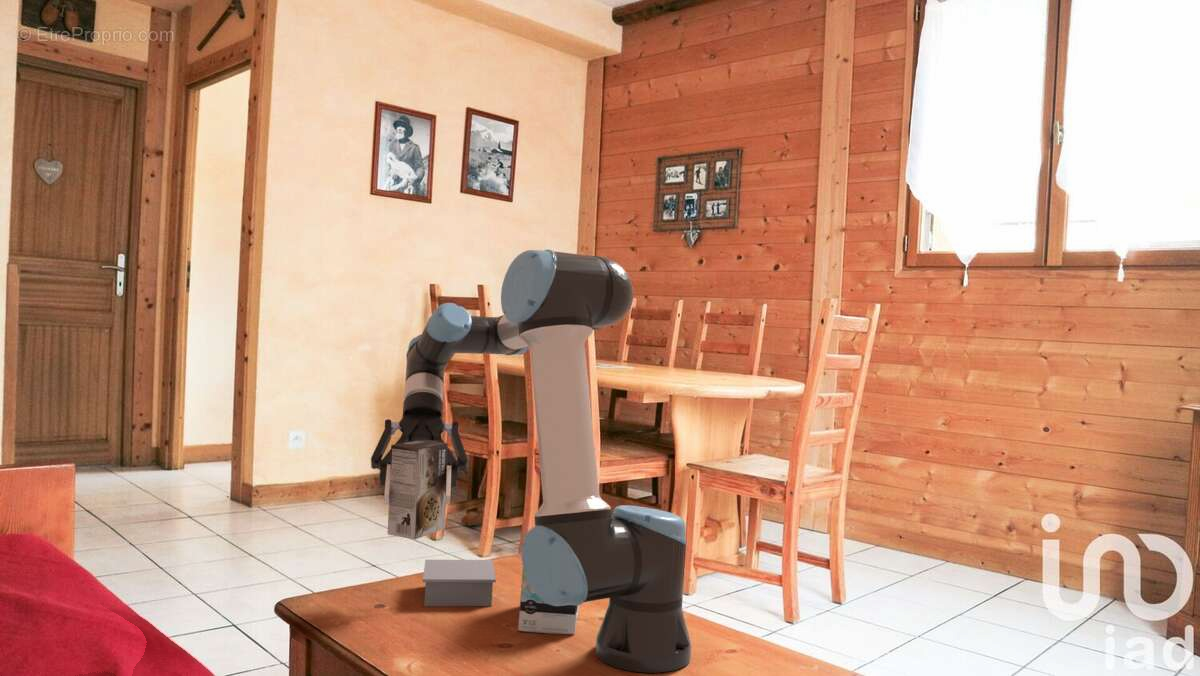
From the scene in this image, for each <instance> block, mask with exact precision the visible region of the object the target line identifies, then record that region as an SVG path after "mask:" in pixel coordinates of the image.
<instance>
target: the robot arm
mask: <svg viewBox="0 0 1200 676" xmlns="http://www.w3.org/2000/svg"><path fill="white" fill-rule="evenodd" d="M500 291H501V292H500V306H501V310H502V313H503V315H500V316H481V315H480V316H479V315H470V313H469V311H468V310H467V309H466V308H465V307H463V306H461V305H457V304H456V303H454V302H446V303H445V302H444V303H442V304H440V305H438V306H437V308H436V309H435V310H434V311H433V313H432V314H431V316H430V317H428V320H427V321H426V325H425V327H424V329H423V331H422V333H421V334H419V335H417V336H415V337H413V338H412V339H411V340H410V342H409V344H408V347H407V351H406V359H405V360H406V364H405V365H406V366H405V367H406V368H405V380H404V381H405V383H404V390H403V391H404V392H403V404H402V405H403V406H402V417H401V419H400V421H392V420H391V419H388V418H387V419H385V420H384V430H383V432H382V435H381V436H380V437H379V440H378V442H377V444H376V447H375V449H374V451H373V453H372V455H371V457H370V467H371V469H373V470H376V469H377V470H379V479H378V480H379V485H380V486H384V495H383V496H384V497H383V498H384V499H383V500H384V505H389V492H390V463H391V448H390V449H389V451H388V452H387V453H386V450H387V448H388V445H389V444H390V441H391V439H392V436H394V435H395V434H396V432H397V431H398V430H399V431H400V432H401V434H400V435H401V436H400V438H399V439H398V440H397V441H396V442H395V443H394V444H399V443H404V442H410V441H415V440H420V439H423V440H432V441H437V442H442V443H445V441H444V440H443V438H442V435H441V434H442V433H443V432H444V431H445V432H446V434H447V435H448V436H449V437H450V440H451V443H452V447H453V450H454V452H455V455H456V457H455V456H454V455H453V453H452V452H451V450H450V449H449V447H447V478H446V505H451V492H452V487H453V488H454V487H457V485H458V474H459V472H460V471H462V472H465V471H467V469H468V462H469V461H468V456H467V454H466V451H465V448H464V445H463V442H462V440H461V439H462V438H461V436H460V434H459V424H460V423H459V422H458V421H456V420H455V421H453V422H451V423H445V422H444V419H443V408H444V403H443V402H444V389H445V388H444V384H445V370H446V368H447V366H448V365H449V363H450V362H451V361H452V359H453V357H454V356H455V355H456V354H474V355H475V354H479V355H480V354H483V355H487V354H488V355H504V356H516V355H523V354H525V353H526V352H527V351H528V349H529V352H530V353H529V354H530V365H531V375H532V376H531V378H532V389H533V399H534V407H535V408H534V409H535V410H534V411H535V420H536V421H535V423H536V433H537V442H538V444H537V445H538V455H539V456H538V458H539V465H540V466H539V468H540V480H541V492H542V504H541V505H540V507H539V508H538V509H537V510H536V512H535V513H534V517H533V518H534V526H532V527H533V528H532V527H531V528H532V529H529V530H528V531H527V532H526V534H525V535H524V537H523V543H522V545H521V562H522V569H523V568H524V572H525V575H526V578H527V580H528V583H529V585H530V586H531V588H532V590H534V592H535V593H536V595H537V596H538V597H539V598H540V599H541V600H542V601H544V602H545V603H547V604H549V605H552V606H564V605H579V606H580V605H583V603H588V602H594V601H598V600H605V599H609V601H608V605H607V608H606V611H605V613H604V617H603V619H602V621H601V624H600V626H599V627H600V628H599V630H598V633H597V635H596V639H595V654H596V657H597V658H599V660H601V662H604V663H605V664H606V665H607V664H608V665H610V666H611V667H614V668H617V669H620V670H625V671H629V672H637V673H645V674H646V673H650V674H651V673H666V672H672V671H677V670H679V669H682V668H683V667H685V666H687V665H688V664H689V663H690V662H691V656H692V655H691V654H692V643H691V638H690V634H689V630H688V627H687V623H686V619H685V614H684V611H683V599H684V598H683V596H684V595H683V594H684V583H685V582H684V580H685V564H686V547H687V545H688V544H687V543H688V542H687V541H686V538H687V537H686V534H687V533H686V532H687V531H686V529H687V528H686V522H685V521H684V519H683V518H682V517H681V516H679V515H677V514H675V513H672V512H671V511H665V510H661V509H657V508H651V507H646V506H639V505H638V506H637V505H629V504H627V505H623V504H622V505H617V506H616V507H614V510H613V512H612V508H611V505H609V504H608V503H607V501H605V500H603V499H602V498H601V496H600V489H599V488H600V487H599V479H598V468H597V457H596V448H595V439H594V438H595V435H594V427H593V416H592V406H591V405H592V404H591V398H590V397H591V396H590V389H589V388H590V387H589V378H588V377H589V376H588V375H589V374H588V366H587V365H588V364H587V358H586V357H587V356H586V348H585V347H586V345H585V343H586V342H587V340H588V339H589V338H590V337H591V335H592V334H593V332H594V331H596V330H600V329H604V328H607V327H610V326H613V325H616V324H617V323H619V322H621V321H622V320H623V319H624V318H625V317H626V316H627V315H628V313H629V311H630V310H631V307H632V305H633V301H634V286H633V283H632V280H631V277H630V276H629V274H628V272H627V271H626V270H625V268H623V267H622V266H621V265H620V264H619V263H617V262H616V261H614V260H612V259H610V258H608V257H605V256H599V255H586V254H579V253H572V252H570V253H569V252H563V251H554V250H552V249H544V250H537V249H528V250H525V251H523V252H521V253H519V254H518V255H517V256H516V257H515V258H514V259H513V260H512V262H511V263H510V265H509V266H508V268H507V271H506V273H505V275H504V278H503V281H502V285H501V290H500ZM385 453H386V454H385ZM456 458H457V459H456Z"/></svg>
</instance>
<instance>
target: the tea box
mask: <svg viewBox="0 0 1200 676" xmlns="http://www.w3.org/2000/svg"><path fill="white" fill-rule="evenodd" d="M533 527H534V526H532V527H531V529H532V528H533ZM531 529H530V530H531ZM519 601H520V604H519V614H518V615H519V616H518V627H517V629H518V631H519V632H527V633H528V632H529V633H538V634H540V633H542V634H553V635H556V634H557V635H575V633H576V628H577V623H578V622H577V621H578V616H579V615H578V614H579V609H580V608H579V607H580V605H564V606H552V605H549V604H547V603H545V602H544V601H542V600H541V599H540V598H539V597H538V596H537V595H536V593H535V592H534V590H532V588H531V586H530V585H529V583H528V580H527V578H526V575H525V572H524V568H523V567H522V574H521V590H520V600H519Z"/></svg>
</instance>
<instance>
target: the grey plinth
mask: <svg viewBox="0 0 1200 676" xmlns="http://www.w3.org/2000/svg"><path fill="white" fill-rule="evenodd" d="M495 572H496V571H495V566H494V560H493V559H425V560H424V568H423V576H422V583H425V587H424V588H425V589H424V607H492V606H493V605H492V604H493V603H492V602H493V585H494V584H493V583H496V581H497V579H496V573H495Z"/></svg>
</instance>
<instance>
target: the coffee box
mask: <svg viewBox="0 0 1200 676" xmlns="http://www.w3.org/2000/svg"><path fill="white" fill-rule="evenodd" d="M448 444H449V443H448V442H444V443H442V442H437V441H432V440H423V439H420V440H415V441H410V442H404V443H399V444H395V443H394V444H391V445H390V449H391V463H390V492H389V504H388V511H387V512H388V517H387V535H388V536H392V537H400V538H403V539H410V540H418V539H421V538H423V537H425V536H426V537H427V536H428V535H431V534H434V533H437V532H440V531H442V530H445V528H446V527H445V525H446V505H447V504H446V478H447V447H448ZM448 448H449V447H448Z"/></svg>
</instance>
